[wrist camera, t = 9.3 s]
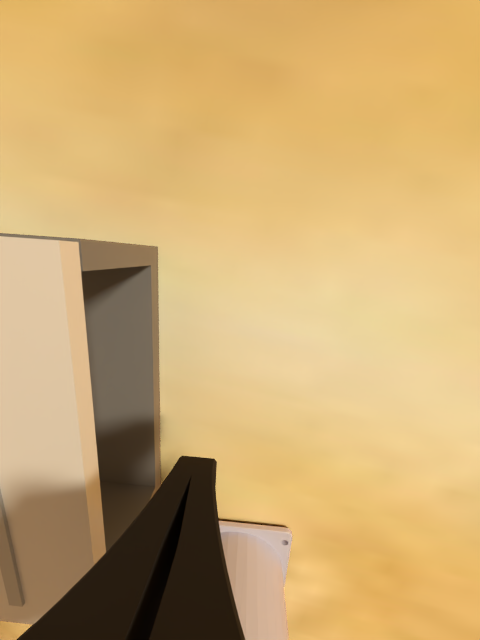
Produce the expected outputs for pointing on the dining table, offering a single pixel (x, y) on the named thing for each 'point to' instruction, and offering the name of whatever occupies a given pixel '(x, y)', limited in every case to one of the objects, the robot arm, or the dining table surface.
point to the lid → (45, 430)
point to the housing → (122, 373)
